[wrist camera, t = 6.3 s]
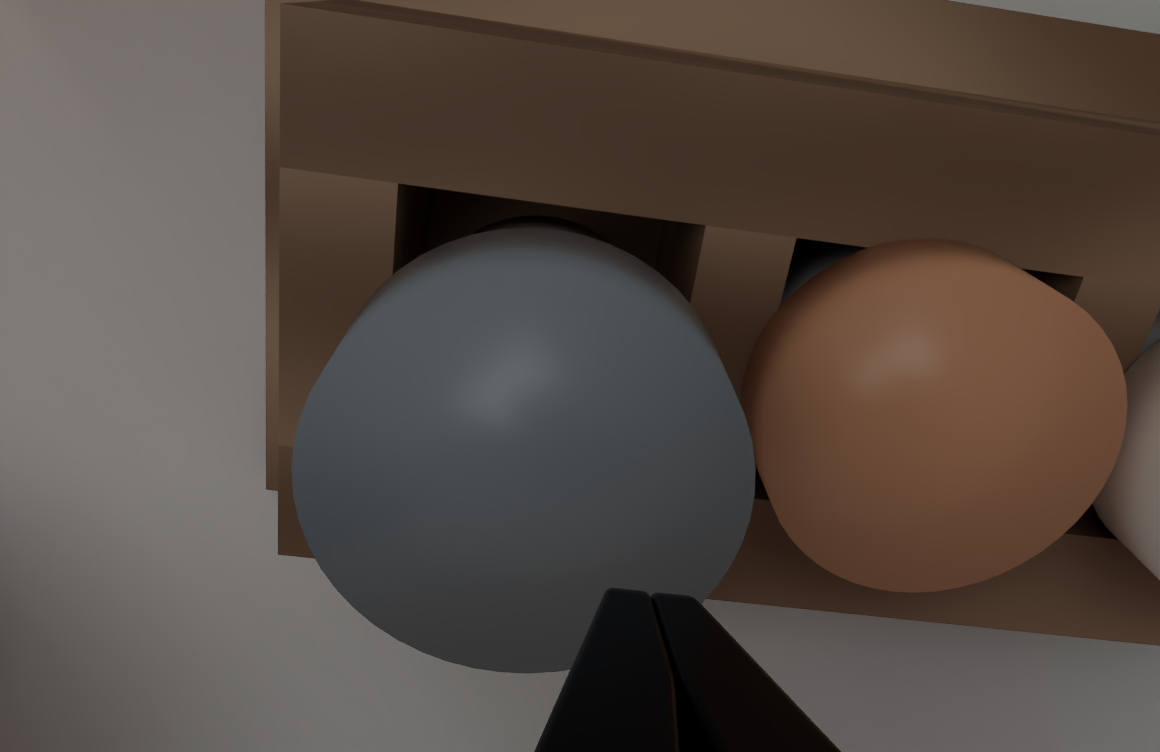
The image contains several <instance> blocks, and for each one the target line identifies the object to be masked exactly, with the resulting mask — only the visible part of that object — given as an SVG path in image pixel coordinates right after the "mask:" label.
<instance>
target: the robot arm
mask: <svg viewBox="0 0 1160 752" xmlns="http://www.w3.org/2000/svg"><path fill="white" fill-rule="evenodd" d="M534 752H841V751H840V750H839V749H838V748H837V747H836V746H835V745H834V744H833V743H832V742H831V741H830V740H829V738H828V737H827V736H826V735H825V734H824V733H823V732H822V731H821V730H820V729H819V728H818V727H817V726H816V725H815V724H814V723H813V722H812V721H811V719H810V718H809V717H808V716H807V715H806V714H805V713H804V712H803V711H802V710H801V709H800V708H799V707H798V706H797V705H796V704H795V703H794V702H793V700H792V699H791V698H790V697H789V696H788V695H787V694H786V693H785V692H784V691H783V690H782V689H781V688H780V687H779V686H778V685H777V684H776V683H775V681H774V680H773V679H772V678H771V677H770V676H769V675H768V674H767V673H766V672H765V671H764V670H763V669H762V668H761V667H760V666H759V665H758V664H757V663H756V661H755V660H754V659H753V658H752V657H751V656H750V655H749V654H748V653H747V652H746V651H745V650H744V649H743V648H742V647H741V646H740V645H739V644H738V642H737V641H736V640H735V639H734V638H733V637H732V636H731V635H730V634H729V633H728V632H727V631H726V630H725V629H724V628H723V627H722V626H721V625H720V623H719V622H718V621H717V620H716V619H715V618H714V617H713V616H712V615H711V614H710V613H709V612H708V611H707V610H706V609H705V608H704V607H703V606H702V605H701V603H700V602H699V601H698V600H696V599H695V598H694V597H692V596H688V595H679V594H669V593H660V592H657V593H654V594H652V595H651V596H649V594H648V593H647V592H645V591H640V590H631V589H622V588H609V589H607V590H606V591H605V593H604V595H603V597H602V599H601V602H600V604H599V606H598V609H597V611H596V613H595V615H594V618H593V620H592V622H591V624H590V627H589V629H588V631H587V633H586V636H585V638H584V640H583V643H582V645H581V647H580V649H579V652H578V654H577V656H576V658H575V661H574V663H573V665H572V667H571V670H570V672H569V674H568V677H567V679H566V681H565V683H564V686H563V688H562V690H561V692H560V695H559V697H558V699H557V702H556V704H555V706H554V708H553V711H552V713H551V715H550V717H549V720H548V722H547V724H546V726H545V729H544V731H543V733H542V736H541V738H540V740H539V742H538V745H537V747H536V749H535V751H534Z"/></svg>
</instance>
